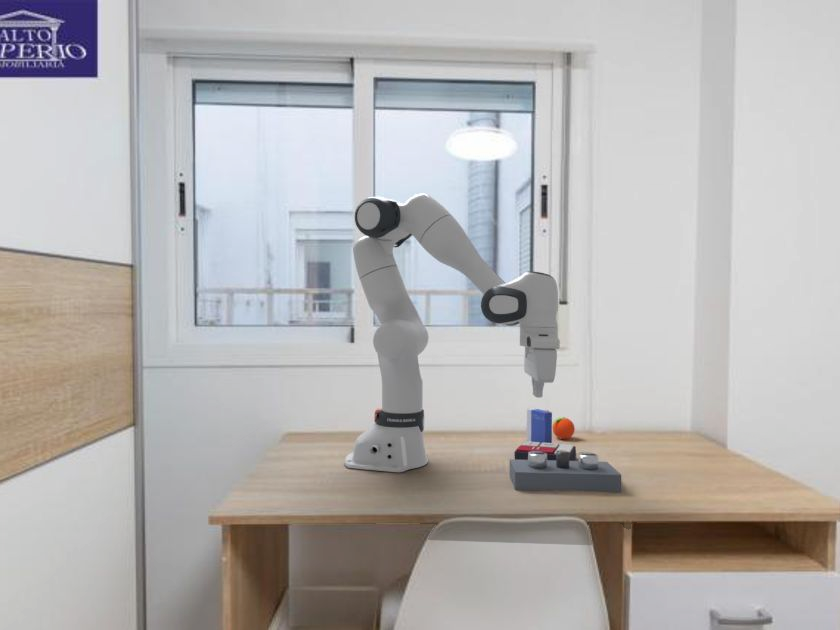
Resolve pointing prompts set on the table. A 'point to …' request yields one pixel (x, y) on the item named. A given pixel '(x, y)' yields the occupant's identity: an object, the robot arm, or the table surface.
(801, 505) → the table surface
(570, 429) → the clementine
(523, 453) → the calculator
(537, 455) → the knob
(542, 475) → the panel
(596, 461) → the knob
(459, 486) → the table surface
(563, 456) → the dial
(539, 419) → the walkman
